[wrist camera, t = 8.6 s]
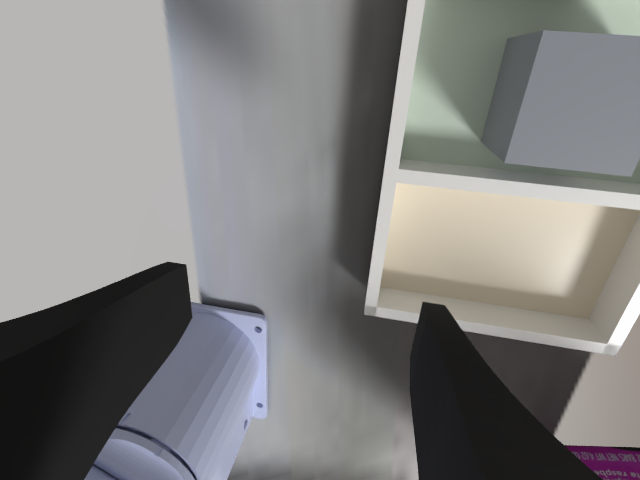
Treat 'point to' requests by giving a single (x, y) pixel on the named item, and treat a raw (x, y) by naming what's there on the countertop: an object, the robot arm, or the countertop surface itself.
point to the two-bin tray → (498, 192)
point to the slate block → (568, 102)
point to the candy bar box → (610, 461)
